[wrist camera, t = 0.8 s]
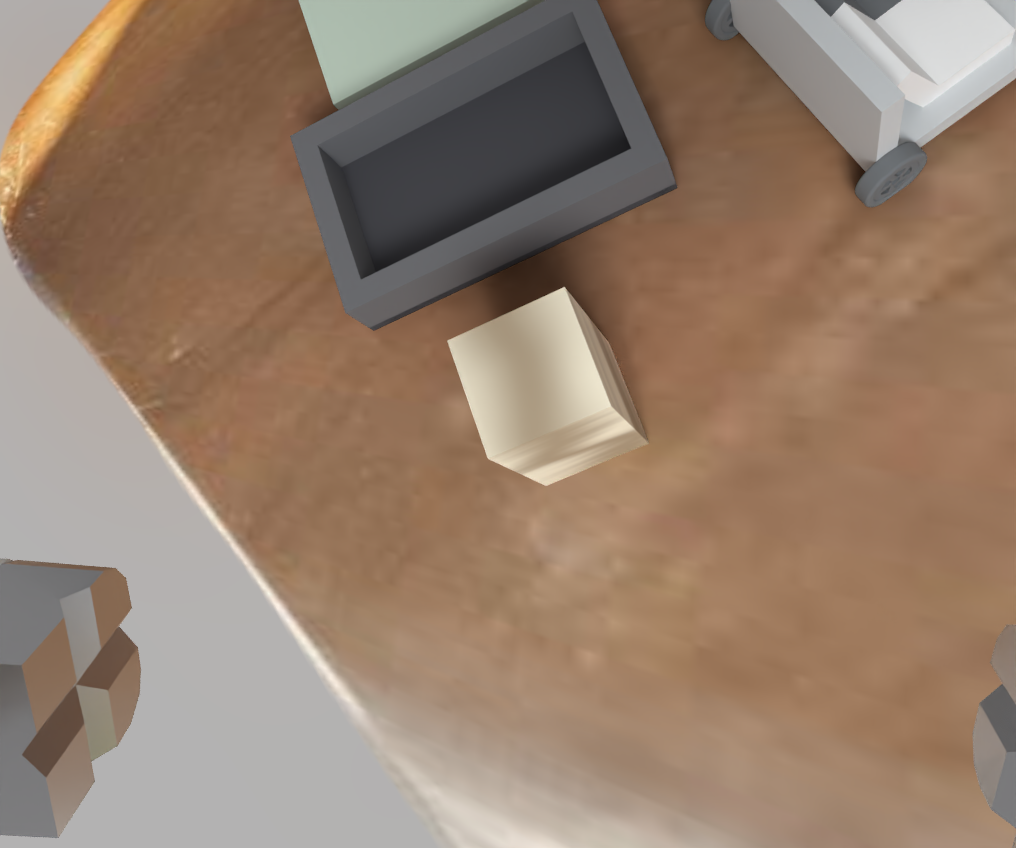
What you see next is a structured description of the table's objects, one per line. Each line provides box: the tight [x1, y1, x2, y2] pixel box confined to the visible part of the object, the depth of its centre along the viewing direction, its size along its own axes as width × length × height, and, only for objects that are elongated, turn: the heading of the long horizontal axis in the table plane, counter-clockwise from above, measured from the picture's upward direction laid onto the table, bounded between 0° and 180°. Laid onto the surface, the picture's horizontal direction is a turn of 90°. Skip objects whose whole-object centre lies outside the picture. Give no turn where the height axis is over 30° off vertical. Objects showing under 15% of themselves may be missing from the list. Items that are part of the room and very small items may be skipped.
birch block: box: [448, 287, 649, 486], centre depth 40 cm, size 5×5×8 cm
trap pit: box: [290, 0, 677, 331], centre depth 46 cm, size 16×10×3 cm, turn 110°
